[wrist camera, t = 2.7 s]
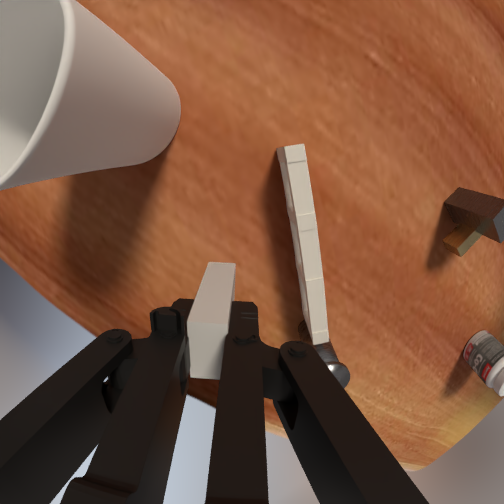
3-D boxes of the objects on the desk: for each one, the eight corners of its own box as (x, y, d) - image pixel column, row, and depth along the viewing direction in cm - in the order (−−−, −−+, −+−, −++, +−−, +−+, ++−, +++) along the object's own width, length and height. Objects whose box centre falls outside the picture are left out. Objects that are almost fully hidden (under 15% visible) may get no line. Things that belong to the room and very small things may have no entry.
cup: (190, 150, 22) (84, 146, 7) (98, 177, 22) (-55, 222, 7) (171, 55, 19) (74, -55, 4) (82, 88, 20) (-62, 54, 5)
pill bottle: (461, 342, 29) (498, 383, 21) (488, 322, 28) (527, 358, 20) (462, 366, 30) (494, 405, 22) (488, 347, 29) (522, 382, 21)
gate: (315, 309, 26) (329, 341, 21) (302, 312, 26) (313, 345, 21) (291, 146, 22) (303, 143, 17) (276, 148, 22) (284, 146, 17)
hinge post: (286, 327, 27) (298, 382, 20) (315, 307, 26) (335, 357, 19) (307, 348, 28) (322, 402, 21) (334, 328, 27) (357, 380, 20)
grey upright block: (425, 219, 24) (472, 241, 17) (459, 187, 23) (508, 200, 16) (438, 244, 25) (483, 271, 18) (470, 212, 24) (518, 231, 17)
